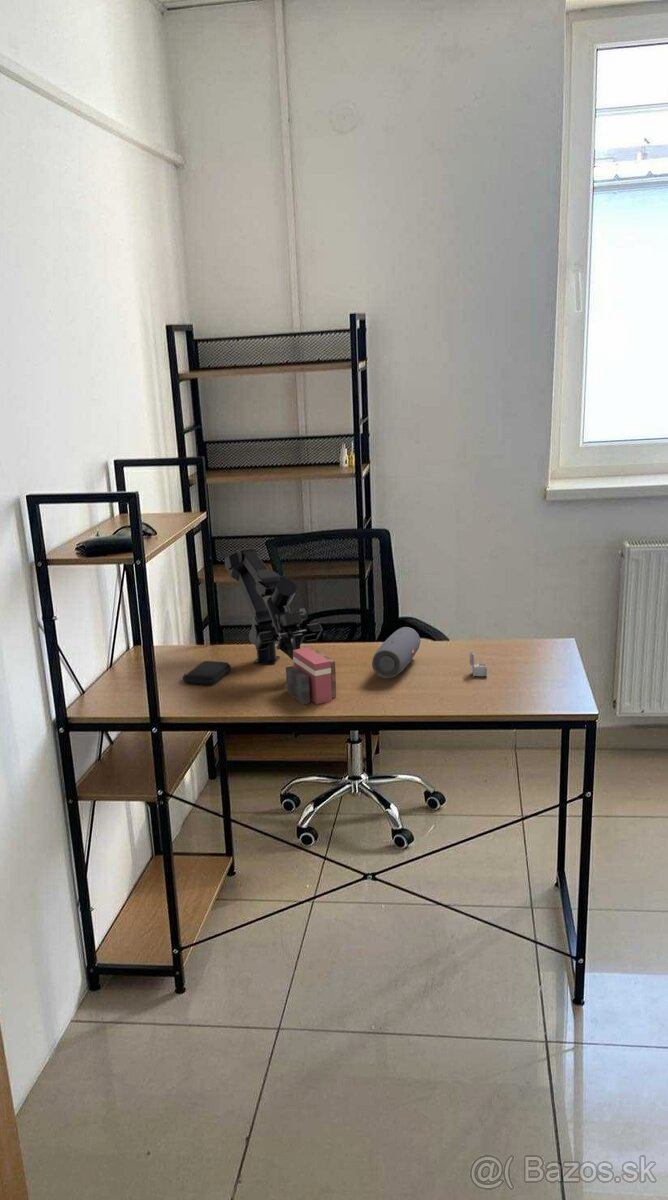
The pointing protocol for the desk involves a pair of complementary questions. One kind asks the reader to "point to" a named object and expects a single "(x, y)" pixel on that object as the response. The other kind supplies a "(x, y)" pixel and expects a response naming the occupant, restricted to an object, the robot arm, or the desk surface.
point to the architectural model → (477, 667)
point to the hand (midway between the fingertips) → (298, 662)
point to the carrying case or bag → (207, 673)
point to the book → (315, 673)
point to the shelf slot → (305, 682)
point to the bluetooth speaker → (396, 652)
